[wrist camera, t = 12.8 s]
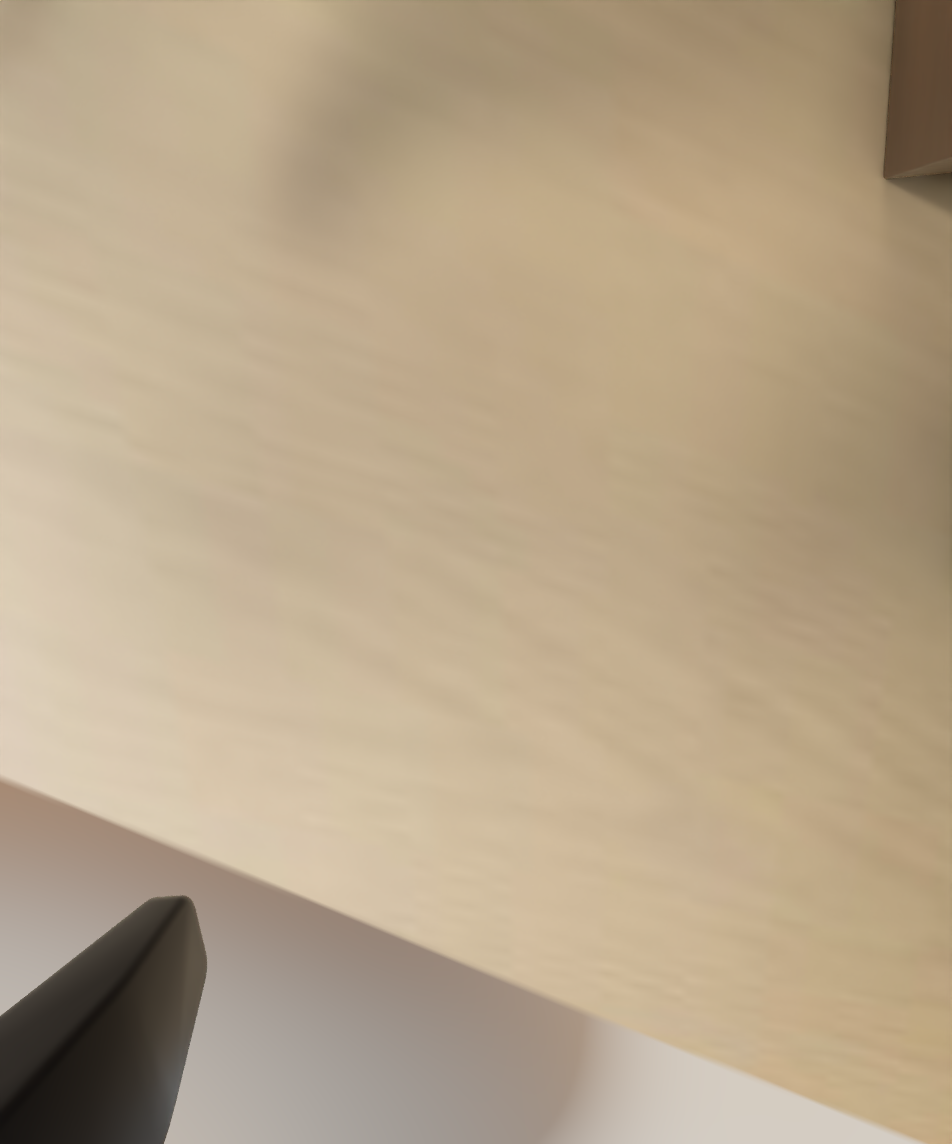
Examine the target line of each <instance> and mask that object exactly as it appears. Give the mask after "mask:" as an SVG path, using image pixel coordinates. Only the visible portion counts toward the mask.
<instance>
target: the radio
mask: <svg viewBox="0 0 952 1144" xmlns="http://www.w3.org/2000/svg"><path fill="white" fill-rule="evenodd" d="M945 173H952V0H896V9H895V23H894V38H893V52H892V66H891V81H890V95H889V110H888V124H887V139H886V153H885V168H884V178H885V179H891V178H902V177H912V176H923V175H934V174H945Z"/></svg>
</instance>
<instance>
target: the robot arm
mask: <svg viewBox="0 0 952 1144" xmlns="http://www.w3.org/2000/svg"><path fill="white" fill-rule="evenodd" d="M206 972H207V957H206V951H205V947H204V943H203V939H202V934H201V931H200V926H199V922H198V918H197V913H196V909H195V906H194V903H193V901H192V900H191V899H190V898H189V897H187V896H183V895H180V896H165V897H155V898H152V899H150V900H148V901H147V902H145V903H144V904H142V905H141V906H140V907H139V908H137V909H136V910H135V911H133V912H132V913H131V914H130V915H129V916H127V917H126V918H125V919H123V920H122V921H121V922H120V923H118V924H117V925H116V926H114V927H113V928H112V929H111V930H109V931H108V932H107V933H106V934H104V935H103V936H102V937H100V938H99V939H98V940H97V941H95V942H94V943H93V944H92V945H90V946H89V947H88V948H86V949H85V950H84V951H83V952H81V953H80V954H79V955H77V957H75V958H74V959H72V960H71V961H70V962H69V963H67V964H66V965H65V966H64V967H62V968H61V969H60V970H58V971H57V972H56V973H55V974H53V975H52V976H51V977H49V978H48V979H47V980H46V981H44V982H43V983H42V984H41V985H39V986H38V987H37V988H36V989H34V990H33V991H32V992H30V993H29V994H28V995H27V996H25V997H24V998H23V999H21V1000H20V1001H19V1002H18V1003H16V1004H15V1005H14V1006H13V1007H11V1008H10V1009H9V1010H7V1011H6V1012H5V1013H4V1014H2V1015H1V1016H0V1144H164V1141H165V1138H166V1135H167V1132H168V1129H169V1126H170V1122H171V1118H172V1114H173V1111H174V1106H175V1103H176V1099H177V1095H178V1091H179V1087H180V1082H181V1078H182V1074H183V1070H184V1066H185V1062H186V1058H187V1054H188V1049H189V1045H190V1041H191V1037H192V1032H193V1029H194V1024H195V1020H196V1016H197V1012H198V1008H199V1004H200V1000H201V996H202V991H203V987H204V983H205V978H206Z"/></svg>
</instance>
